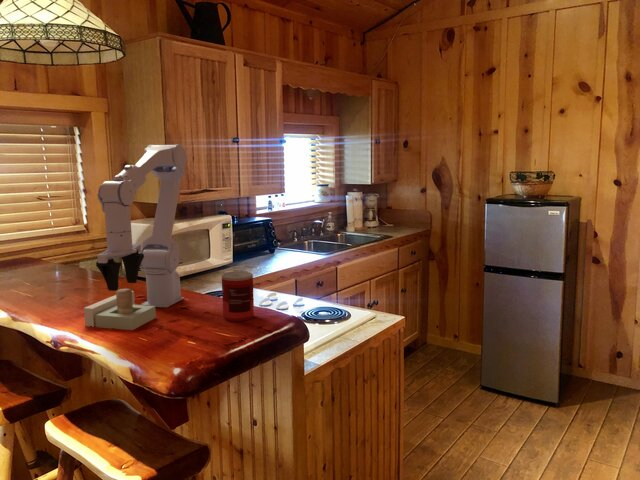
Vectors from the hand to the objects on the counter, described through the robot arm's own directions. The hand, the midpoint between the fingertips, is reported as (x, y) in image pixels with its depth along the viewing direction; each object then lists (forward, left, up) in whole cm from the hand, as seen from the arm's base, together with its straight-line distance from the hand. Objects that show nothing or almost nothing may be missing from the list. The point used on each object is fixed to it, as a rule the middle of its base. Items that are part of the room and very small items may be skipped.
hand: (122, 286), depth 132 cm
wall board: (-3, -6, -9) cm, 12 cm away
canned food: (-10, +26, -9) cm, 29 cm away
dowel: (0, 0, -9) cm, 9 cm away
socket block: (0, +1, -9) cm, 9 cm away
